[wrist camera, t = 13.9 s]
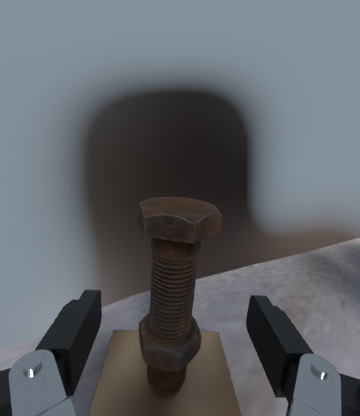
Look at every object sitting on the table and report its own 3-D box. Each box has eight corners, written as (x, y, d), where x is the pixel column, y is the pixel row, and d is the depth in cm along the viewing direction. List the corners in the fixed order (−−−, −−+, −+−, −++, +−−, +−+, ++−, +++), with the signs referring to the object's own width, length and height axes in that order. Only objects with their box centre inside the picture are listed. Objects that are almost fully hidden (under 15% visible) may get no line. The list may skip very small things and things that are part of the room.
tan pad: (217, 339, 24) (218, 332, 24) (250, 468, 14) (252, 457, 14) (113, 338, 23) (113, 330, 23) (75, 472, 14) (74, 461, 13)
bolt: (119, 403, 17) (120, 208, 13) (143, 347, 21) (149, 193, 18) (196, 425, 16) (222, 221, 12) (203, 361, 20) (223, 201, 17)
